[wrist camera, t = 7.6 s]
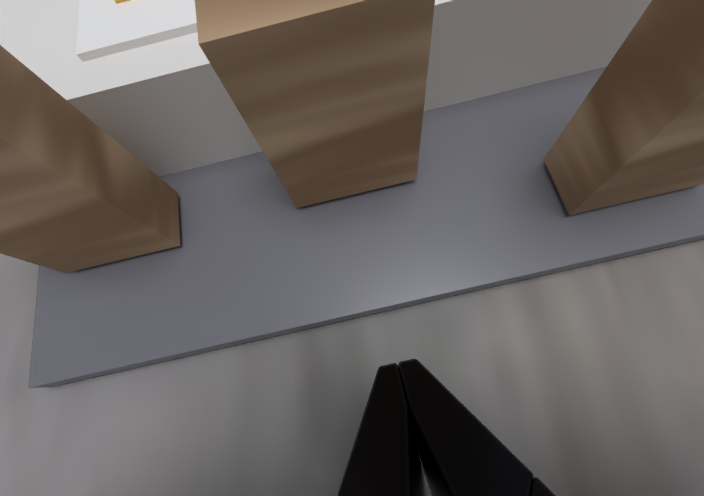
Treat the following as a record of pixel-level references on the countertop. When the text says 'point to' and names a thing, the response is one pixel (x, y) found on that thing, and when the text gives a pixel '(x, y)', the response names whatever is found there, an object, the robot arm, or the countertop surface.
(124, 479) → the countertop surface
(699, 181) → the key
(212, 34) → the key middle
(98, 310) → the key console
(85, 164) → the key
